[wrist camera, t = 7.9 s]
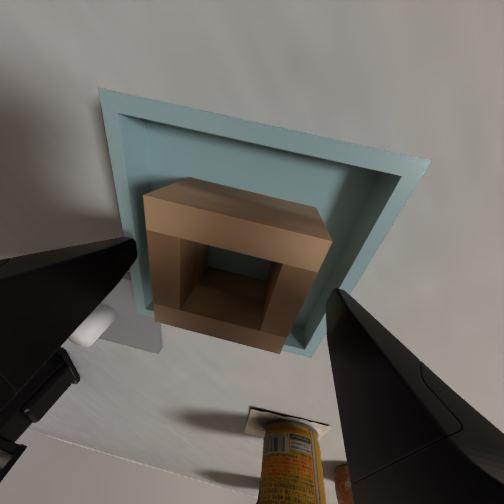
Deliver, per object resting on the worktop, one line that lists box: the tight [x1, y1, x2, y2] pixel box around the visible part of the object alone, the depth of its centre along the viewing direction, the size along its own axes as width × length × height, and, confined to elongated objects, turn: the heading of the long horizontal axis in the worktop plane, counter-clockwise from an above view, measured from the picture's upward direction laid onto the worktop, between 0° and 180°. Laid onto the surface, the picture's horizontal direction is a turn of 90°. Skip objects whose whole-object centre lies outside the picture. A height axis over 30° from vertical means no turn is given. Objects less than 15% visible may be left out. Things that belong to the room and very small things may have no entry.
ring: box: [143, 177, 333, 354], centre depth 9 cm, size 6×6×4 cm
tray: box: [98, 88, 431, 358], centre depth 10 cm, size 11×11×2 cm
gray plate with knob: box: [68, 273, 162, 354], centre depth 14 cm, size 8×8×3 cm
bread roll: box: [334, 464, 354, 504], centre depth 24 cm, size 10×10×8 cm
